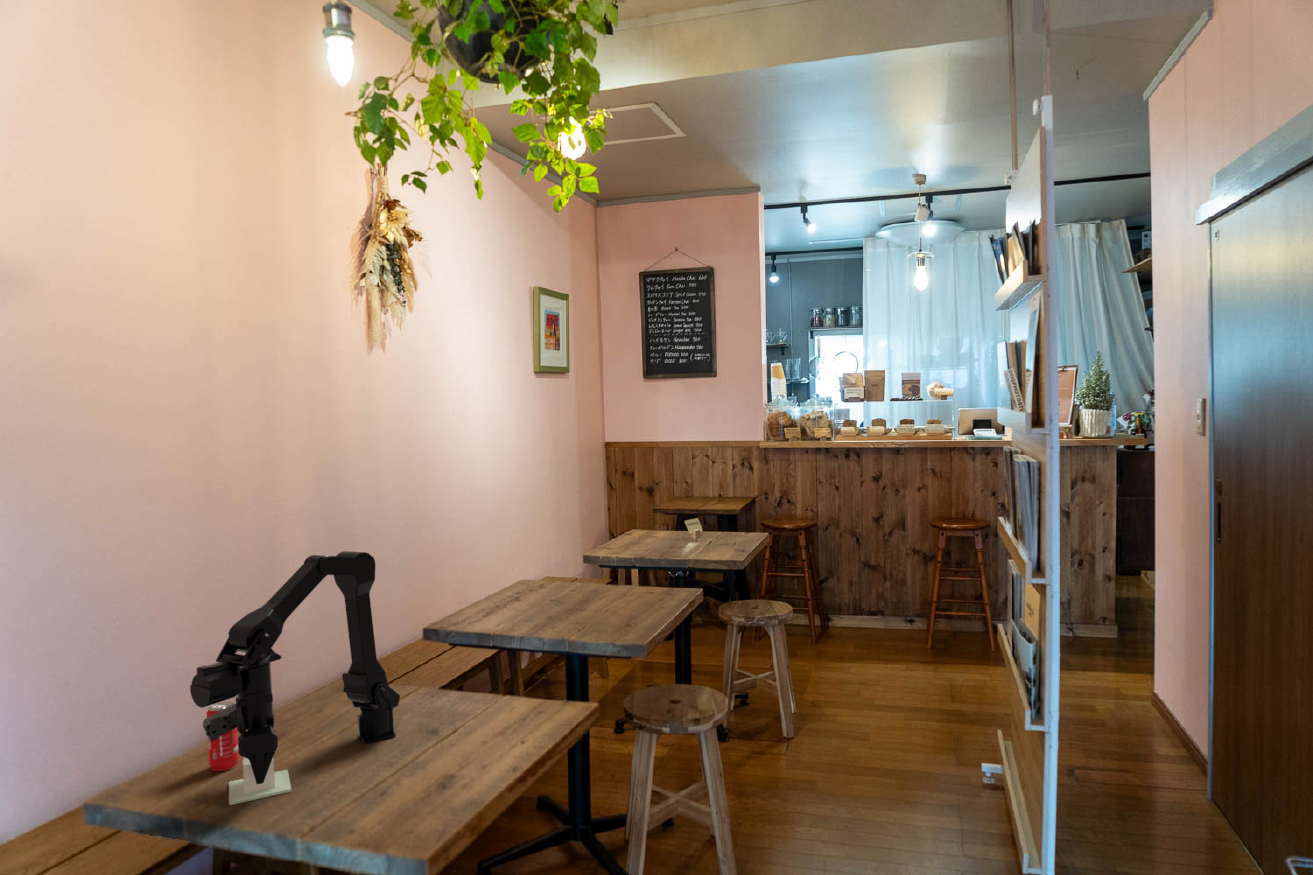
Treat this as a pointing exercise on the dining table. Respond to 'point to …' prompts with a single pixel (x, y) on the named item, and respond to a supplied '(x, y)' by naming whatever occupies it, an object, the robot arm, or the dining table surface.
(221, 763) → the beverage can
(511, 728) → the dining table surface
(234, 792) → the pad
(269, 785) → the cube
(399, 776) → the dining table surface
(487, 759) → the dining table surface
